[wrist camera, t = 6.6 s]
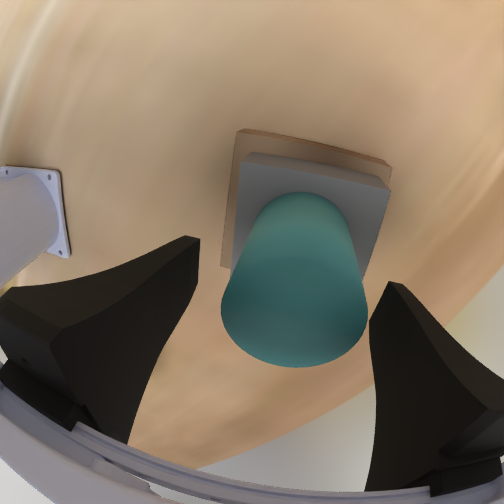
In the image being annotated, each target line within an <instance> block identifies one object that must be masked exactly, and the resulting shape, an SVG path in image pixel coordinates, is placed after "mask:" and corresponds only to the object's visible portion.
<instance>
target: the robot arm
mask: <svg viewBox="0 0 504 504" xmlns="http://www.w3.org/2000/svg"><path fill="white" fill-rule="evenodd" d="M0 175H1V177H0V289H1V288H2V287H3V286H4V285H5V284H7V283H8V282H9V281H10V280H11V279H12V278H13V277H15V276H16V275H17V274H18V273H19V272H20V271H22V270H23V269H24V268H25V267H26V266H27V265H29V264H30V263H31V262H32V261H34V260H35V259H36V258H37V257H38V256H40V255H41V254H42V253H43V252H45V251H46V252H49V253H51V254H54V255H57V256H60V257H63V258H66V259H67V258H69V257H70V249H69V243H68V237H67V231H66V225H65V218H64V210H63V202H62V193H61V182H60V174H59V172H58V171H56V170H47V169H37V168H26V167H14V166H2V167H1V168H0ZM199 252H200V239H199V238H195V237H190V236H186V235H185V236H182V237H180V238H178V239H176V240H173V241H171V242H169V243H167V244H165V245H163V246H161V247H159V248H157V249H155V250H153V251H151V252H149V253H147V254H145V255H142V256H140V257H138V258H136V259H133V260H131V261H129V262H126V263H124V264H122V265H119V266H116V267H114V268H111V269H108V270H105V271H102V272H99V273H96V274H92V275H88V276H84V277H80V278H77V279H73V280H68V281H63V282H57V283H51V284H44V285H34V286H21V287H11V288H10V289H9V290H8V291H7V292H6V293H5V294H4V295H3V296H1V297H0V346H1V348H2V349H3V351H4V353H5V354H6V356H7V358H8V360H7V361H6V363H5V364H4V365H3V363H2V362H1V361H0V457H1V459H2V460H4V461H5V462H6V463H7V464H8V465H9V466H10V467H11V468H12V469H13V470H14V471H15V472H16V473H18V474H19V475H20V476H21V477H22V478H23V479H25V480H26V481H27V482H28V483H29V484H30V485H32V486H33V487H34V488H35V489H37V490H38V491H39V492H41V493H42V494H43V495H44V496H46V497H47V498H49V499H50V500H51V501H53V502H54V503H55V504H183V503H179V502H176V501H172V500H169V499H165V498H162V497H161V496H159V495H158V494H156V493H155V492H153V491H152V490H151V489H150V485H149V483H147V482H145V481H143V480H141V479H139V478H137V477H140V478H142V479H145V480H147V481H150V482H152V483H155V484H158V485H161V486H163V487H167V488H169V489H172V490H175V491H178V492H181V493H185V494H188V495H191V496H195V497H198V498H202V499H206V500H210V501H214V502H218V503H223V504H504V462H503V463H501V461H500V457H502V456H503V455H504V379H502V378H501V377H499V376H498V375H496V374H495V373H493V372H492V371H491V370H489V369H488V368H487V367H485V366H484V365H483V364H482V363H480V362H479V361H478V360H476V359H475V358H474V357H473V356H472V355H471V354H470V353H468V352H467V351H466V350H465V349H464V348H463V347H462V346H461V345H460V344H459V343H458V342H457V341H456V340H455V339H454V338H453V337H452V336H451V335H450V334H449V333H448V332H447V331H446V330H445V329H444V328H443V327H442V326H441V325H440V323H439V322H438V321H437V320H436V319H435V318H434V317H433V316H432V315H431V313H430V312H429V311H428V310H427V309H426V308H425V307H424V306H423V304H422V303H421V302H420V301H419V300H418V299H417V298H416V297H415V296H414V295H413V294H412V293H411V291H409V290H408V289H407V288H406V287H405V286H404V285H403V284H400V283H396V282H391V281H388V284H387V286H386V288H385V290H384V292H383V294H382V296H381V298H380V300H379V302H378V304H377V306H376V308H375V310H374V312H373V314H372V316H371V318H370V320H369V344H370V351H371V359H372V366H373V373H374V381H375V390H376V424H375V436H374V445H373V452H372V458H371V464H370V469H369V474H368V478H367V482H366V486H365V490H364V492H327V491H309V490H298V489H289V488H280V487H273V486H266V485H260V484H254V483H249V482H243V481H239V480H233V479H229V478H225V477H221V476H217V475H212V474H208V473H205V472H201V471H198V470H194V469H191V468H188V467H184V466H181V465H178V464H175V463H172V462H169V461H166V460H163V459H161V458H158V457H155V456H153V455H150V454H147V453H145V452H142V451H140V450H137V449H135V448H133V447H130V446H128V445H127V443H128V439H129V436H130V433H131V429H132V426H133V423H134V419H135V416H136V413H137V411H138V408H139V405H140V402H141V399H142V396H143V394H144V391H145V388H146V386H147V383H148V381H149V378H150V376H151V373H152V371H153V369H154V366H155V364H156V362H157V359H158V357H159V355H160V353H161V351H162V349H163V347H164V345H165V344H166V342H167V340H168V339H169V337H170V335H171V334H172V332H173V330H174V329H175V327H176V325H177V323H178V322H179V320H180V318H181V317H182V315H183V313H184V312H185V310H186V308H187V307H188V305H189V303H190V300H191V298H192V296H193V293H194V291H195V289H196V286H197V284H198V269H199ZM127 472H128V473H127ZM129 473H130V474H129ZM131 474H132V475H131ZM133 475H135V476H137V477H135V476H133Z"/></svg>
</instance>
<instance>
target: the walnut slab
mask: <svg viewBox="0 0 504 504" xmlns="http://www.w3.org/2000/svg"><path fill="white" fill-rule="evenodd" d="M251 152H257V153H264V154H270V155H277V156H283V157H289V158H295V159H301V160H306V161H312V162H317V163H322V164H327V165H332V166H336V167H341V168H346V169H350V170H355V171H359V172H363V173H367V174H372V175H376V176H379V178H380V179H381V180H382V181H383V182H384V183H385V185H386V186H387V185H388V182H389V178H390V175H391V171H392V167H390V166H389V165H388V164H387V163H386V162H385V161H383V160H379V159H376V158H373V157H369V156H366V155H362V154H359V153H355V152H352V151H348V150H344V149H340V148H337V147H333V146H328V145H324V144H320V143H316V142H312V141H307V140H303V139H298V138H293V137H288V136H283V135H278V134H273V133H267V132H261V131H256V130H249V129H242V130H240V131H238V132H237V133H236V140H235V147H234V155H233V162H232V170H231V177H230V185H229V193H228V201H227V209H226V218H225V226H224V235H223V244H222V253H221V262H220V266H222V267H226V268H230V269H231V262H232V250H233V239H234V228H235V217H236V206H237V195H238V185H239V175H240V164H241V161H242V160H243V159H244V158H245V157H246V156H247V155H249V154H250V153H251Z"/></svg>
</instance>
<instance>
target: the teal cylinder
mask: <svg viewBox="0 0 504 504" xmlns="http://www.w3.org/2000/svg"><path fill="white" fill-rule="evenodd" d="M221 316H222V321H223V324H224V327H225V329H226V331H227V333H228V334H229V336H230V337H231V338H232V340H233V341H234V342H235V343H236V344H237V345H238V346H239V347H240V348H241V349H243V350H244V351H245V352H247V353H248V354H250V355H252V356H253V357H255V358H257V359H259V360H262V361H264V362H267V363H270V364H274V365H278V366H284V367H295V368H298V367H311V366H316V365H321V364H324V363H327V362H330V361H332V360H335V359H337V358H338V357H340V356H342V355H343V354H345V353H346V352H348V351H349V350H350V349H351V348H352V347H353V346H354V345H355V344H356V343H357V342H358V341H359V339H360V338H361V336H362V334H363V332H364V330H365V328H366V324H367V319H368V308H367V302H366V297H365V293H364V288H363V284H362V279H361V275H360V271H359V266H358V262H357V258H356V254H355V250H354V247H353V243H352V239H351V235H350V232H349V228H348V225H347V222H346V219H345V217H344V215H343V214H342V212H341V211H340V210H339V209H338V208H337V206H336V205H335V204H333V203H332V202H331V201H329V200H328V199H326V198H324V197H322V196H320V195H317V194H314V193H309V192H291V193H287V194H283V195H281V196H278V197H276V198H275V199H273V200H271V201H270V202H269V203H267V204H266V205H265V206H264V207H263V209H262V210H261V211H260V212H259V214H258V216H257V218H256V220H255V222H254V225H253V227H252V229H251V232H250V234H249V236H248V239H247V241H246V243H245V246H244V248H243V250H242V253H241V255H240V257H239V259H238V262H237V264H236V266H235V269H234V271H233V273H232V276H231V278H230V280H229V283H228V285H227V287H226V290H225V292H224V295H223V298H222V303H221Z"/></svg>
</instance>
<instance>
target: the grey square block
mask: <svg viewBox="0 0 504 504" xmlns="http://www.w3.org/2000/svg"><path fill="white" fill-rule="evenodd" d="M291 192H309V193H314V194H317V195H320V196H322V197H324V198H326V199H328V200H329V201H331V202H332V203H333V204H335V205H336V206H337V208H338V209H339V210H340V211H341V212H342V214H343V215H344V217H345V219H346V222H347V225H348V228H349V232H350V235H351V239H352V243H353V247H354V250H355V254H356V258H357V262H358V266H359V271H360V275H361V279H362V280H363V277H364V275H365V272H366V269H367V266H368V263H369V261H370V258H371V255H372V252H373V249H374V246H375V243H376V240H377V237H378V233H379V230H380V227H381V224H382V220H383V217H384V214H385V210H386V207H387V203H388V200H389V196H390V192H391V190H390V189H389V188H388V187H387V186H386V185H385V183H384V182H383V181H382V180H381V179H380V178H379V176H376V175H372V174H367V173H363V172H359V171H355V170H350V169H346V168H341V167H336V166H332V165H327V164H322V163H317V162H312V161H306V160H301V159H295V158H289V157H283V156H277V155H270V154H264V153H257V152H251V153H250V154H249V155H247V156H246V157H245V158H244V159H243V160H242V161H241V164H240V175H239V185H238V195H237V206H236V217H235V228H234V239H233V250H232V262H231V274H230V278H231V276H232V273H233V271H234V269H235V266H236V264H237V262H238V259H239V257H240V255H241V253H242V250H243V248H244V246H245V243H246V241H247V239H248V236H249V234H250V232H251V229H252V227H253V225H254V222H255V220H256V218H257V216H258V214H259V212H260V211H261V210H262V209H263V207H264V206H265V205H266V204H267V203H269V202H270V201H271V200H273V199H275V198H276V197H278V196H281V195H283V194H287V193H291Z"/></svg>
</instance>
